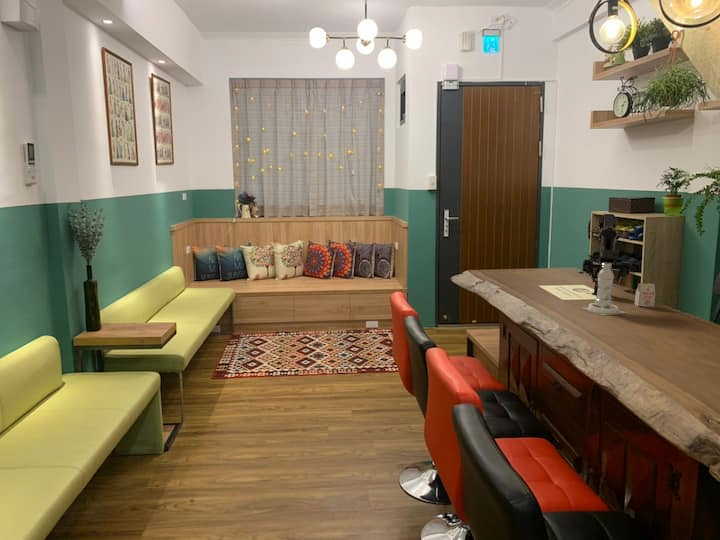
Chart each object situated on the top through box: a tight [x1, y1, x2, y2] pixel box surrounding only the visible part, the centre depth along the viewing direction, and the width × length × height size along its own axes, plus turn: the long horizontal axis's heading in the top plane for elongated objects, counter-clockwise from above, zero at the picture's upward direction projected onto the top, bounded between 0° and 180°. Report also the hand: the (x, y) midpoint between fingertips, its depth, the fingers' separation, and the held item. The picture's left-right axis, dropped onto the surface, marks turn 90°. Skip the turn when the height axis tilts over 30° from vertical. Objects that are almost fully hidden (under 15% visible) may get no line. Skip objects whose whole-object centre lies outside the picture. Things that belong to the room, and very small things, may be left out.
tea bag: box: [634, 283, 656, 308], centre depth 251 cm, size 4×7×10 cm, turn 89°
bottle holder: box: [579, 302, 628, 317], centre depth 242 cm, size 13×13×2 cm
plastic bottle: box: [594, 262, 615, 309], centre depth 240 cm, size 6×7×20 cm
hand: (605, 283), depth 243 cm, fingers open, 9 cm apart
